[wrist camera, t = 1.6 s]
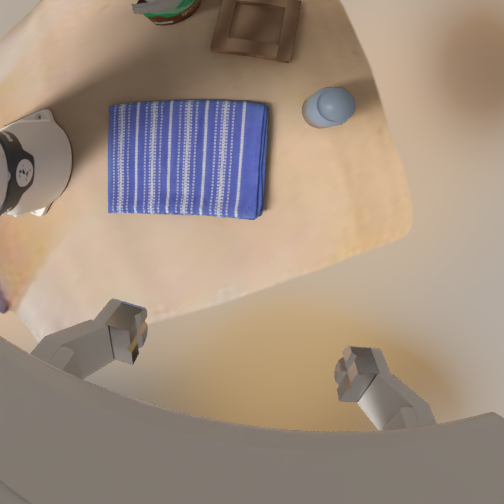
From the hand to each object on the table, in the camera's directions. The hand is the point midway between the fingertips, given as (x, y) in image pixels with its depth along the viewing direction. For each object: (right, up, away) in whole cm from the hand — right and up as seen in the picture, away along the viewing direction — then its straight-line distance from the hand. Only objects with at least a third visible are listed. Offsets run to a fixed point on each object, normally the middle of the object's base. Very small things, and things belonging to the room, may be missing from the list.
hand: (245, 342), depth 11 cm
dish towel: (-10, +17, +28) cm, 34 cm away
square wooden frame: (+1, +36, +20) cm, 41 cm away
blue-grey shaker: (+10, +23, +25) cm, 36 cm away
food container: (-9, +41, +18) cm, 45 cm away
